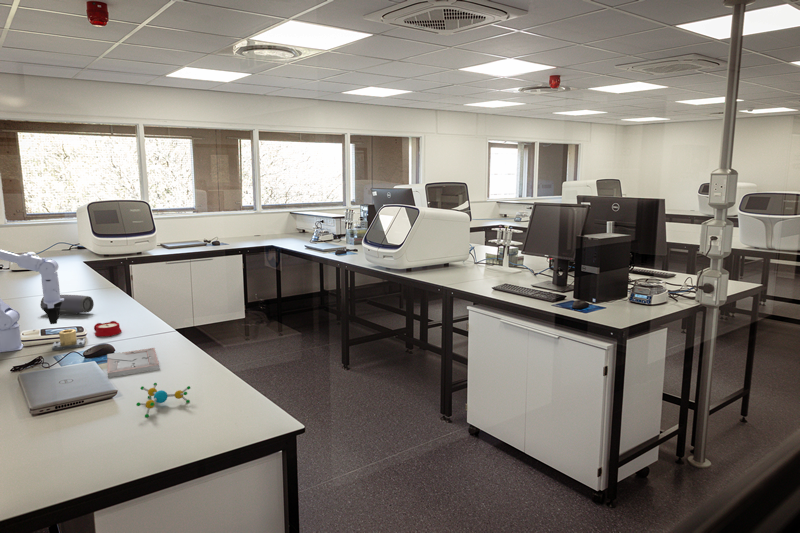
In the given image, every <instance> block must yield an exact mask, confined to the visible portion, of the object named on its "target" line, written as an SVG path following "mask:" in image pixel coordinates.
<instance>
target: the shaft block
mask: <svg viewBox="0 0 800 533" xmlns="http://www.w3.org/2000/svg"><path fill="white" fill-rule="evenodd" d="M85 343H86V338H85V337H84V338H78V339H77V343H74V344H72V345H60V341H55V342H53V343H52V347H51V351H60V350H69V349H76V348H83V347H85V345H86V344H85Z"/></svg>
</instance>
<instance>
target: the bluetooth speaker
mask: <svg viewBox="0 0 800 533" xmlns="http://www.w3.org/2000/svg"><path fill="white" fill-rule="evenodd" d="M60 298H61V299H62V298H64V301H62V304H61V307H60V313H59V315H62V314H66V315H68V316H70V315H71V316H77V315H79V314H86V313H87V314H88V313H89V312H91V311H93V309H94V306H95V304H94V300H93V298H92V296H88V295H82V294H81V295H78V294H60ZM43 301H44V297H43V296H42V298H41V300H40V308H41V310H42V311H44V310H43V308H44V307H47V305H46V304H45V303H44V302H43ZM66 315H65V316H66Z"/></svg>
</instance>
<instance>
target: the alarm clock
mask: <svg viewBox="0 0 800 533" xmlns="http://www.w3.org/2000/svg"><path fill="white" fill-rule="evenodd" d="M93 330H94V335H95V337H112V336H116V335H118V334H119V335H120V334H121V333H122V329H121V327H120V323H119V322H117V321H116V320H111V321H109V322H103V323H101V322H97V323H96V324H94V326H93Z"/></svg>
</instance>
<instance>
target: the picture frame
mask: <svg viewBox="0 0 800 533" xmlns="http://www.w3.org/2000/svg"><path fill="white" fill-rule="evenodd" d="M155 349H156V348H155V347H151V348H144V349H138V350H131V351H129V350H128V351H125V352H124V351H123V352H114V353H107V354H106V358H107V365H106V366H107V370H106V371H107V378H113V377H120V376H125V375H126V376H127V375H132V374H138V373H144V372H151V371H152V372H153V371H157V370H160V363H159V360H158V356H157V353H156V350H155Z"/></svg>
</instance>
